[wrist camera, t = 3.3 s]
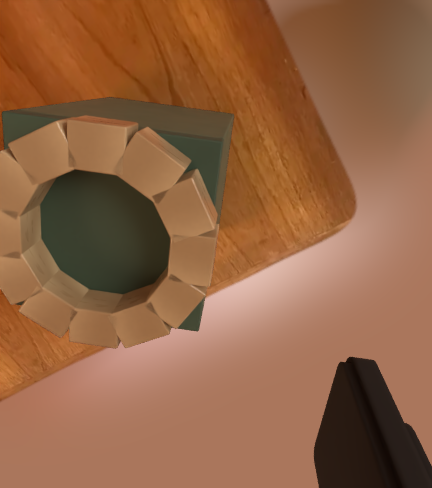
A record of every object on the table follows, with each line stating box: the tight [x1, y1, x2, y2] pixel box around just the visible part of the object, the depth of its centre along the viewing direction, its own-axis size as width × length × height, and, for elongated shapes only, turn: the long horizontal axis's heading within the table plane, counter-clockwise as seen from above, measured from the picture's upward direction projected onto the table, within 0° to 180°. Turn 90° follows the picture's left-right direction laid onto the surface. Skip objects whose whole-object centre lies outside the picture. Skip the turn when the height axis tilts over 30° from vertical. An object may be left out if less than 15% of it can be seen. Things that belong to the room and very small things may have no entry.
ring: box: [0, 115, 219, 348], centre depth 17 cm, size 10×10×2 cm
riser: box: [2, 97, 234, 331], centre depth 25 cm, size 9×9×14 cm
